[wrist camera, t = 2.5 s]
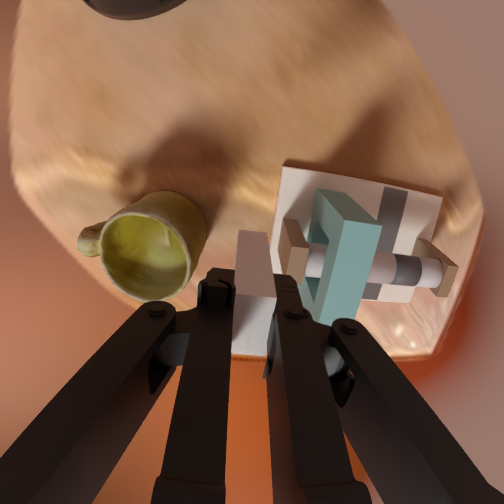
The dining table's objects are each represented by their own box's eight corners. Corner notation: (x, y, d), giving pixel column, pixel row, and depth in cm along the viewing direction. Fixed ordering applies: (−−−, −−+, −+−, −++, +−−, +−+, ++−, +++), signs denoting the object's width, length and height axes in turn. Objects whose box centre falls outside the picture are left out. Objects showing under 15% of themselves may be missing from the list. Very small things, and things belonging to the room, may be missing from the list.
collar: (297, 285, 35) (312, 344, 26) (316, 188, 31) (344, 220, 22) (322, 288, 36) (344, 345, 26) (345, 192, 31) (382, 225, 22)
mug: (233, 192, 31) (188, 255, 23) (210, 265, 37) (173, 329, 30) (127, 151, 31) (63, 196, 23) (122, 225, 38) (73, 276, 30)
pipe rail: (263, 287, 37) (266, 331, 30) (282, 165, 32) (293, 181, 24) (406, 299, 38) (434, 337, 31) (439, 196, 33) (479, 218, 25)
